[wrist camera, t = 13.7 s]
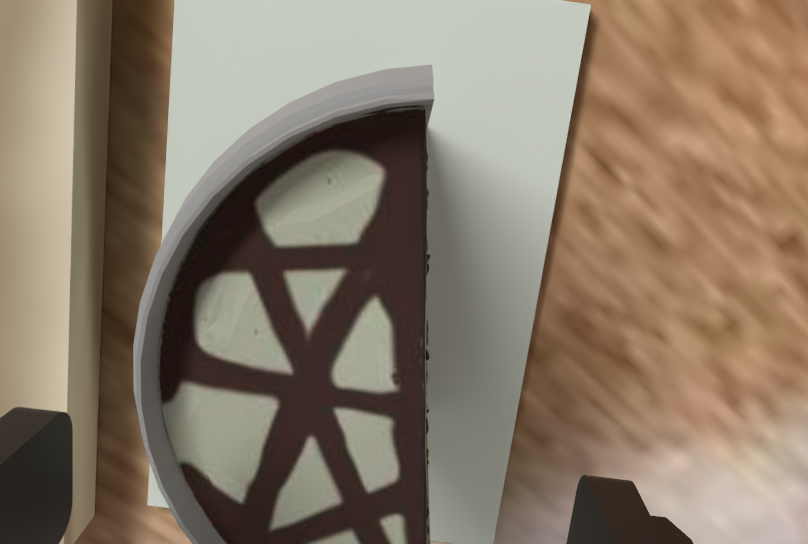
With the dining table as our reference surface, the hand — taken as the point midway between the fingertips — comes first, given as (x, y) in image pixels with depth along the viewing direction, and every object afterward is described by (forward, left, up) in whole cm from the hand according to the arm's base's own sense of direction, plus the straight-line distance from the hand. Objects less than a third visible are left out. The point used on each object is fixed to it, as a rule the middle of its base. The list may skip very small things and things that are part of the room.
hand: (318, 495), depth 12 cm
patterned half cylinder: (+1, 0, -13) cm, 13 cm away
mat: (+1, 0, -13) cm, 13 cm away
